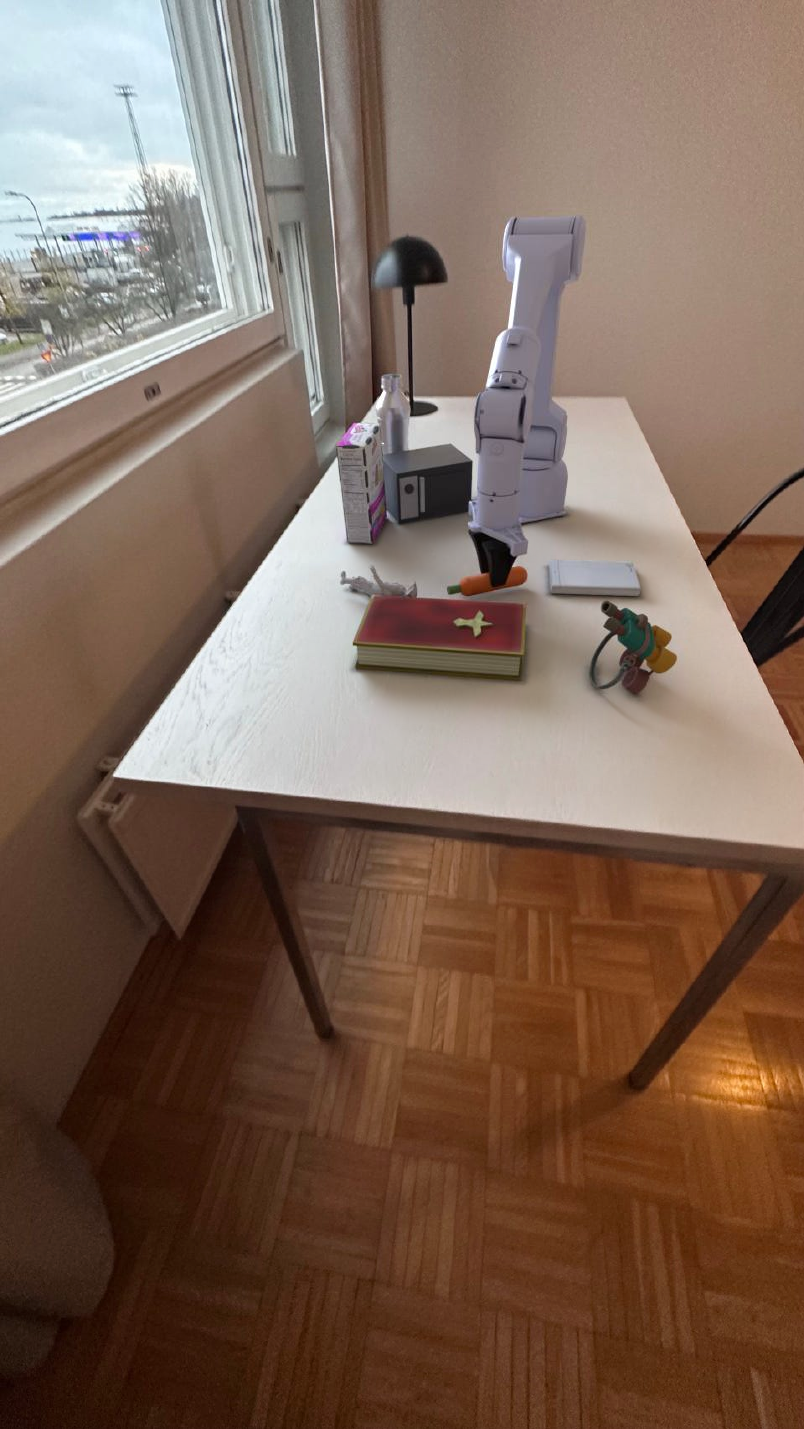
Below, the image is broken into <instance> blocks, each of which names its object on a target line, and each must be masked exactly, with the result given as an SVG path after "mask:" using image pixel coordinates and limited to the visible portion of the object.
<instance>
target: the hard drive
mask: <svg viewBox="0 0 804 1429" xmlns="http://www.w3.org/2000/svg"><path fill="white" fill-rule="evenodd" d="M548 566H549V567H548V572H549V588H550V594H558V595H559V594H561V595H562V594H563V595H588V596H589V595H591V596H623V597H640V593H641V585H640V581H639V577H638V574H637V571H636V567H635V563H634V561H612V560H611V561H608V560H575V559H574V560H573V559H550V560H549V565H548Z"/></svg>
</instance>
